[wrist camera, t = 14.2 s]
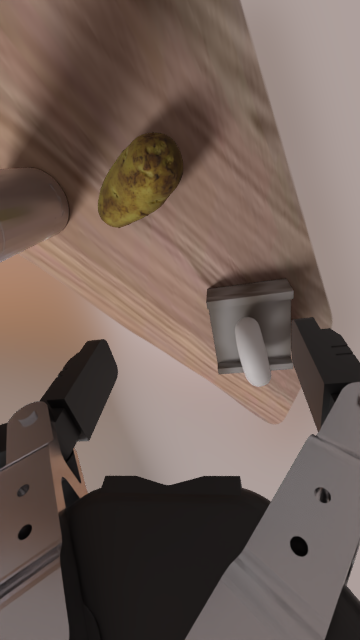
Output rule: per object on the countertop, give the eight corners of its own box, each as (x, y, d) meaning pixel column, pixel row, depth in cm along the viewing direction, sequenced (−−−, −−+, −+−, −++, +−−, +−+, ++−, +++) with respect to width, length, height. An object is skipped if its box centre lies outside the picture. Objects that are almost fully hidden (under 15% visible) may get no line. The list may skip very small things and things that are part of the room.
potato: (86, 166, 36) (56, 168, 29) (177, 125, 32) (166, 117, 26) (114, 227, 40) (93, 242, 33) (198, 196, 36) (193, 206, 29)
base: (218, 357, 50) (218, 374, 46) (207, 289, 43) (206, 302, 39) (286, 351, 47) (292, 368, 44) (286, 278, 41) (293, 291, 37)
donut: (230, 308, 41) (234, 348, 32) (253, 302, 40) (263, 341, 32) (246, 357, 45) (253, 404, 37) (267, 353, 45) (279, 400, 36)
